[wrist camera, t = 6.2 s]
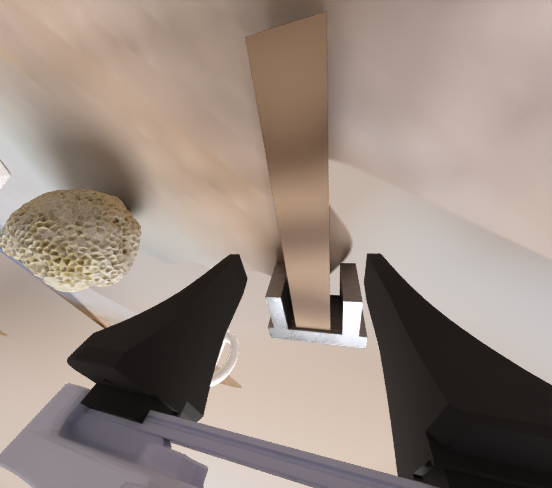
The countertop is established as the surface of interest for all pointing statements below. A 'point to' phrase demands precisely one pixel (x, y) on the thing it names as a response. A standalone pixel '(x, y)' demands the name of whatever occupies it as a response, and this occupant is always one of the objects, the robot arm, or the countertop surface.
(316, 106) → the rail
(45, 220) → the decorative item
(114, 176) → the countertop surface
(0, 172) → the jar
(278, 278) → the bracket
